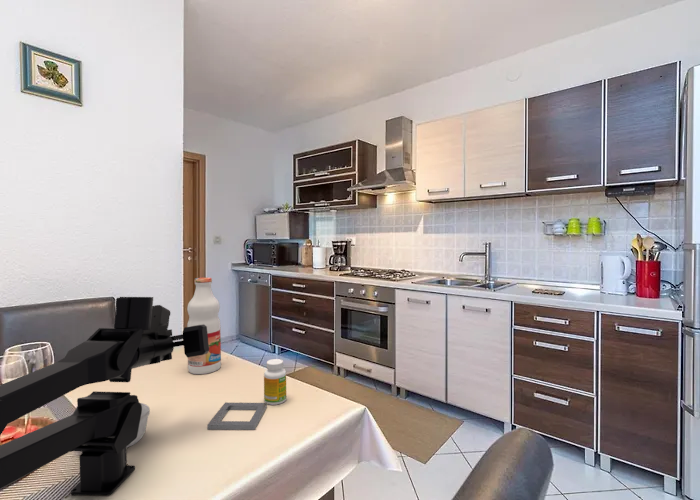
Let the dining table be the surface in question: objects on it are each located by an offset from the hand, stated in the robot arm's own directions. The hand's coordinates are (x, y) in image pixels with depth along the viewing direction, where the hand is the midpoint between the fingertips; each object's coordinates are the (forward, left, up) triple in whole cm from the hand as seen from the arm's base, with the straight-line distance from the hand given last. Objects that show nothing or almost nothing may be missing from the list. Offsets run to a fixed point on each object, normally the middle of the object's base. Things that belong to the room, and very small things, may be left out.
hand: (183, 342), depth 83 cm
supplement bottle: (+4, -20, -16) cm, 26 cm away
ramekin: (-13, +7, -16) cm, 22 cm away
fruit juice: (+25, +6, -16) cm, 30 cm away
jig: (-4, -14, -16) cm, 22 cm away
